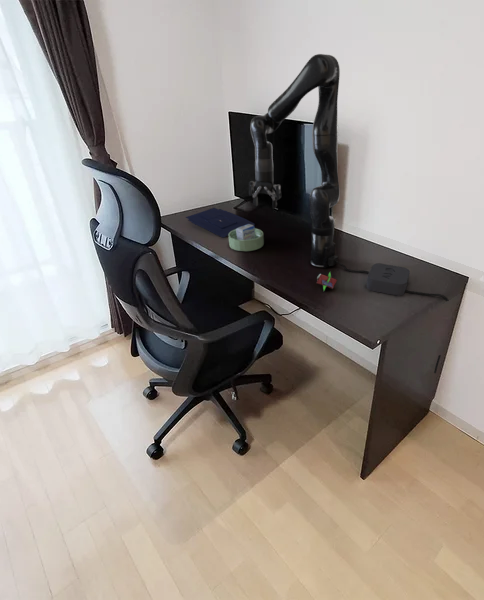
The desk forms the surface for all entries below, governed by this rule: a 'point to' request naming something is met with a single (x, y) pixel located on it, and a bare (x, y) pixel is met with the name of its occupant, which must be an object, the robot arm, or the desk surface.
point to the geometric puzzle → (326, 281)
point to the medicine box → (246, 232)
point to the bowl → (246, 241)
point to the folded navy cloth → (218, 221)
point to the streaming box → (388, 279)
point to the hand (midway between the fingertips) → (265, 207)
